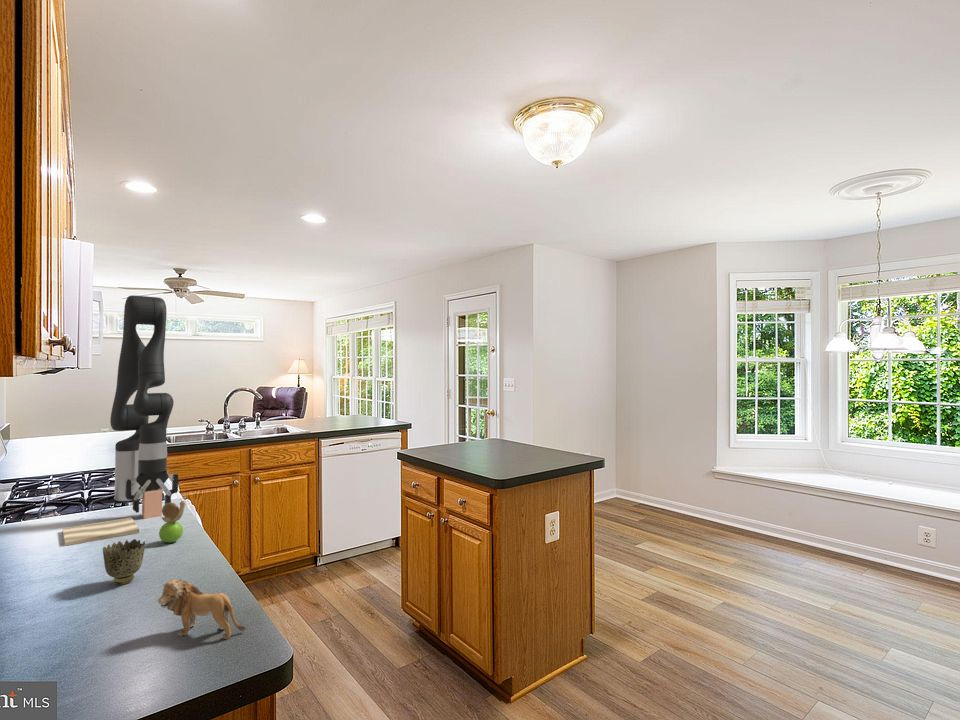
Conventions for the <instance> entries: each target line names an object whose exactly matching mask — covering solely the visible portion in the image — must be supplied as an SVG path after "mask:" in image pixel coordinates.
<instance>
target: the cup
mask: <svg viewBox="0 0 960 720" xmlns="http://www.w3.org/2000/svg"><path fill="white" fill-rule="evenodd" d="M145 546H146V541H145V540H144V541H142V542H141V540H140V539H138V540H137V539H136V538H133V539H132V540H130V541H128V539H127V540H125V541H124V544H123V542H122V541H118V542H117V543H116V542H113V543H112V544H111V545H110V544H108V545H107V547H106V546H103V548H102V553H103V554H102V557H103V562H104V568H105V571H106V574H107V575H108V576H109V577H112V578H113V580H112V581H113V583H114V585H117V586H118V585H119V586H122V585H126V584H130V583H131V582H133V580H134V579H135V574H136V572H138V571H139V569H141V567H142V565H143V564H142V563H143V559H144V555H145Z"/></svg>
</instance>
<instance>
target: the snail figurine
mask: <svg viewBox="0 0 960 720" xmlns="http://www.w3.org/2000/svg"><path fill="white" fill-rule="evenodd" d="M186 499H187V496H185V495H184V496H183V497H182V500H181V501H180V502H179V506H178V504H176V503H174V502H171V503H167V504H165V503H164V505H162V516H163V517H162V516H161V519H162V521H164V522H165V523H164V524H162V525H161V527H160V528H159V532H158V536H159V539H160V540H161V541H162V542H165V543H168V544H171V543H174V542H177V541H178V540H179V539H181V537H182V536H183V532H184V528H183V527H184V526H183V525H182V524H181V523H180V522H179V521H180V519H182V517H183V514H184V511H185V506H186V504H187V503H186Z"/></svg>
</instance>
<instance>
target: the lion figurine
mask: <svg viewBox="0 0 960 720" xmlns="http://www.w3.org/2000/svg"><path fill="white" fill-rule="evenodd" d="M157 601H158V603H159V604H160V608H161V609H165V608H166V609H167V610H168V611H171V612H173V615H175V616H181V623H182V626H183V628H184V629H183V630H181V631H180V632H179V636H180V635H185V636H187V635H188V634H189V633H190V631H191V628H190V627H192V626H194V627H195V626H196V624H197V623H196V622H197V616H199V617H207V616H211V615H212V617H213V619H214V621H215V622H216V624H218V625H219V629H220V630H224V631H225V633H223V634H222V639H223V640H228V639H229V638H230V637H231V636H232V629H231V625H230V619H229V616H230V618H231V621H232V623H233V625H234V626H235V628H237V629H238V631H240V632H242V631H246V630H247V627H246V626H244V625H240V624H239V623H238V622H237V620H236V617H235V612H234V609H233V608H234V607H233V606H232V604H231V599H230V597H229V596H228V595H227V594H226V593H223V592H218V593H203V592H202V591H200V589H199V588H198V587H197V586H196V585H194V584H191V583H190V582H188V581H185V580H182V579H172V580H169V581H167V582H165V583H163V589H162V595H161V596H160V597H159V598H158V600H157ZM192 628H193V627H192ZM186 634H187V635H186Z"/></svg>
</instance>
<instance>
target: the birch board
mask: <svg viewBox="0 0 960 720" xmlns="http://www.w3.org/2000/svg"><path fill="white" fill-rule="evenodd" d="M139 533H140V528H139V527H138V525H137V524H136V522H135V520H134V519H133V518H132V517H125V518H120V519H119V518H118V519H113V520H108V521H107V520H106V521H100V522H93V523H87V524H82V525H75V526H69V527H63V528H62V537H63V543H64V547H65V546H72V545H77V544H84V543H89V542H94V541H100V540H106V539H113V538H118V537H123V536H128V535H135V534H139Z"/></svg>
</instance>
